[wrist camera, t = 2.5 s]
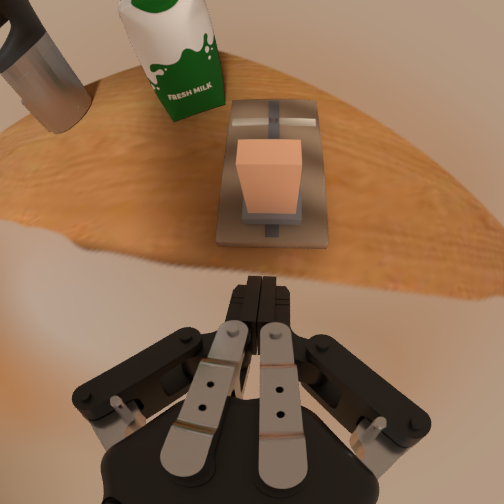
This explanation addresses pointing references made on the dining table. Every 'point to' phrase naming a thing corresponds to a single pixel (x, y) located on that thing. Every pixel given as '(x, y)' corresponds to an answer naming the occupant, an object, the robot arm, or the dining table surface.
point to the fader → (270, 180)
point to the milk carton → (176, 53)
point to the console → (311, 183)
